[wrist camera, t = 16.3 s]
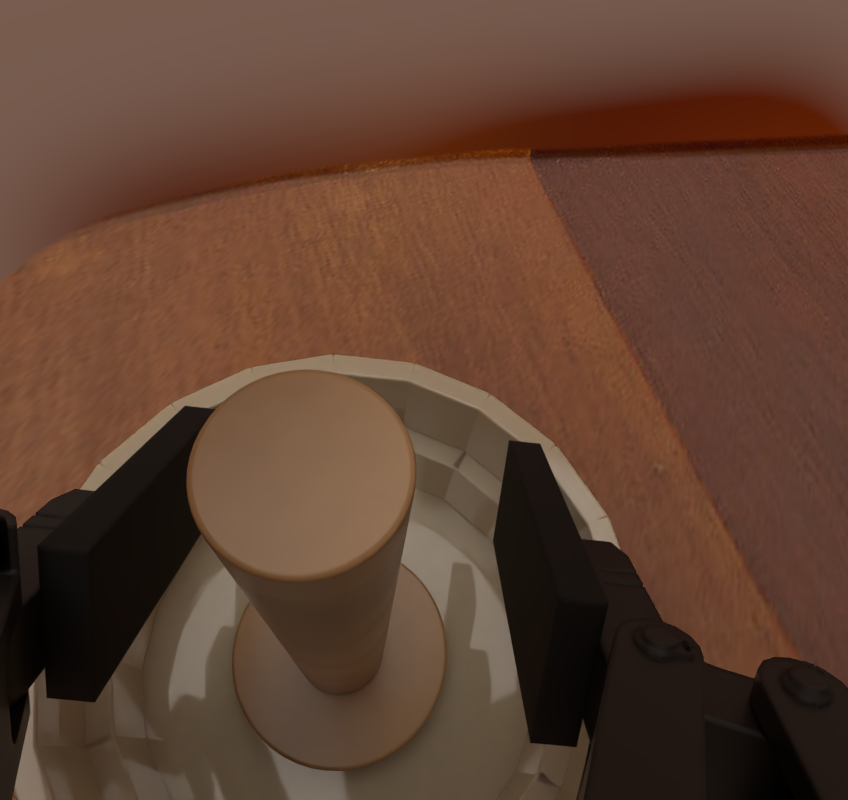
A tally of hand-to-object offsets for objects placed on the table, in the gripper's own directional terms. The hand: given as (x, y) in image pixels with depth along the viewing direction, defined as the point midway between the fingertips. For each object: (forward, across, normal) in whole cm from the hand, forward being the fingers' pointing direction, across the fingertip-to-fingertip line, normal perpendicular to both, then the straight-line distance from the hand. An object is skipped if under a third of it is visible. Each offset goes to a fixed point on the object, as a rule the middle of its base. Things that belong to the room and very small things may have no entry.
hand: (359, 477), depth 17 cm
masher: (+1, 0, -6) cm, 6 cm away
